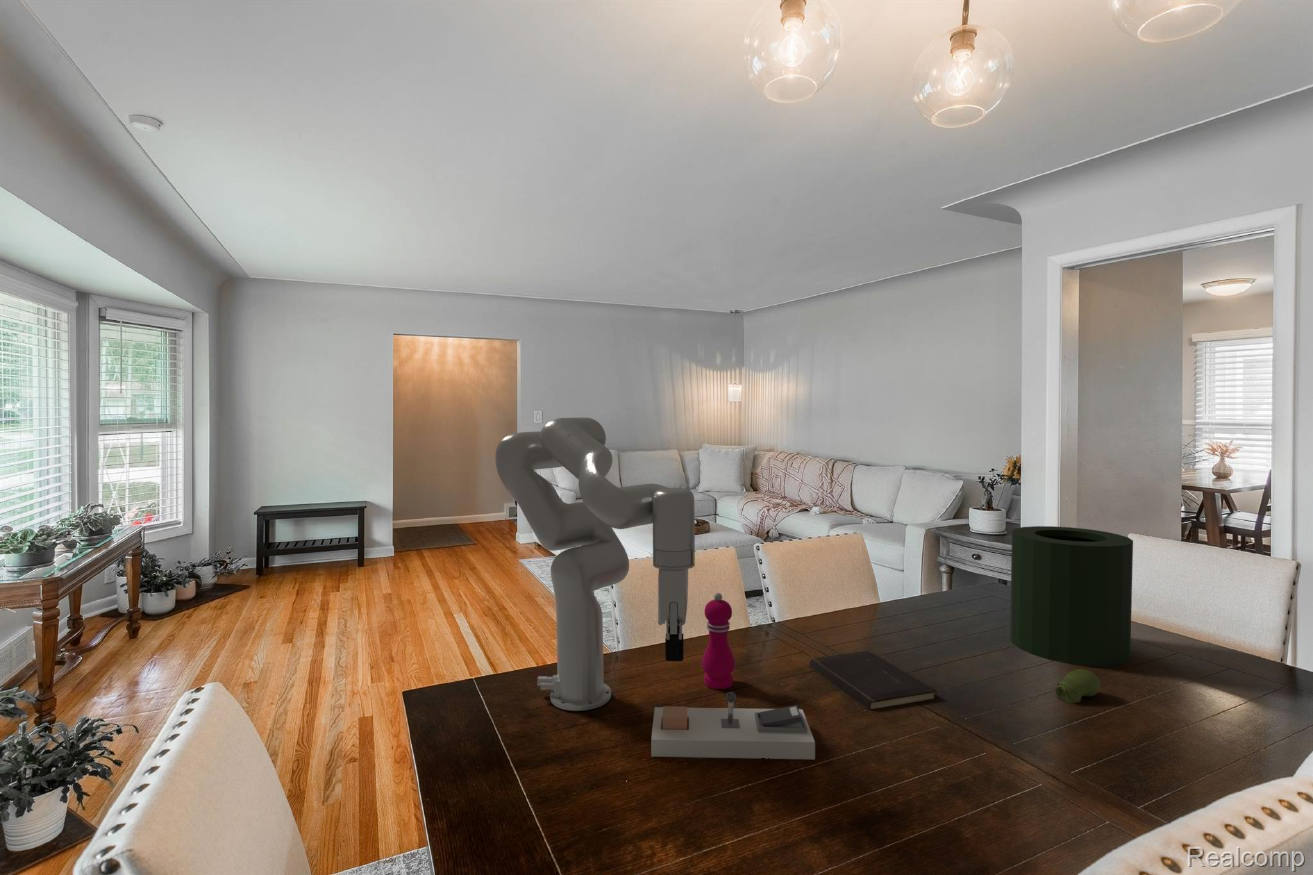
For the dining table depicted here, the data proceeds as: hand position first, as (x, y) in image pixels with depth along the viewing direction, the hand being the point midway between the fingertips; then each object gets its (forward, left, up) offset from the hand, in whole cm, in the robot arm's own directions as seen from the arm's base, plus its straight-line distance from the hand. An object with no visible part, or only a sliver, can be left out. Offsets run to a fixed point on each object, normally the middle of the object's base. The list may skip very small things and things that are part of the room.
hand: (674, 657), depth 116 cm
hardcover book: (+42, +26, -16) cm, 52 cm away
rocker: (+19, 0, -11) cm, 22 cm away
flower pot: (+97, +48, -15) cm, 109 cm away
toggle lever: (+10, 0, -12) cm, 16 cm away
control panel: (+10, 0, -15) cm, 18 cm away
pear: (+83, +20, -16) cm, 86 cm away
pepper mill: (+9, +24, -15) cm, 30 cm away
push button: (0, 0, -13) cm, 13 cm away
